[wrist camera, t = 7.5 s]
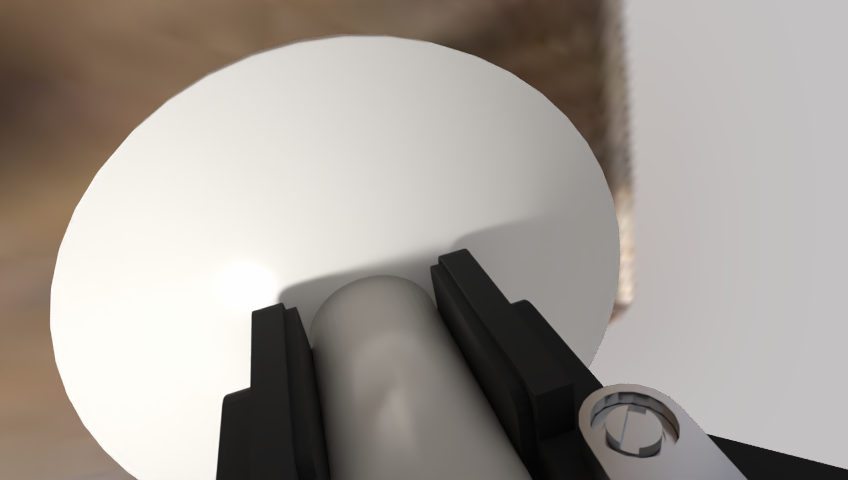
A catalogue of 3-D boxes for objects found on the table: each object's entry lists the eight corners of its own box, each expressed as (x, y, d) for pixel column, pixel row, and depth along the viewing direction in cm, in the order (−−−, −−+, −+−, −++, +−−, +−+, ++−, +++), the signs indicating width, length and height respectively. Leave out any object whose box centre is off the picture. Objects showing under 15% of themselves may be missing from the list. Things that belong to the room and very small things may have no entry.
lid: (-79, 118, 8) (-805, 405, 2) (596, -24, 9) (1009, -35, 4) (199, 559, 13) (159, 950, 8) (600, 410, 15) (789, 644, 9)
